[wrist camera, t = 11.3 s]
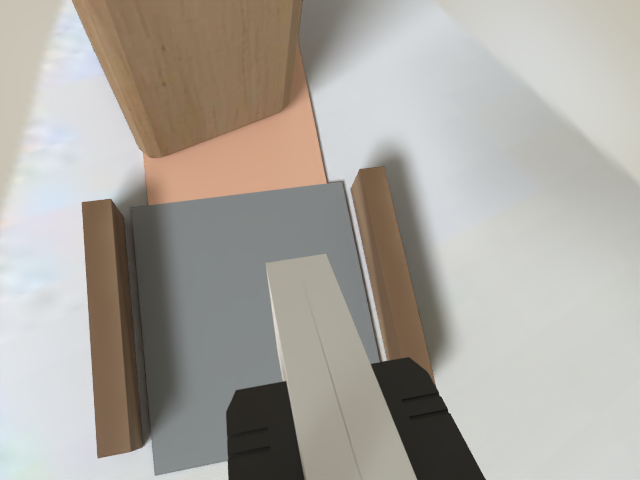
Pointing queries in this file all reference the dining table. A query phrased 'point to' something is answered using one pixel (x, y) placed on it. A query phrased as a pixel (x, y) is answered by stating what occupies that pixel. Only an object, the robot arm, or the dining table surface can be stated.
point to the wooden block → (193, 64)
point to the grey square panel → (227, 304)
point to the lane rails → (116, 315)
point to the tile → (245, 156)
